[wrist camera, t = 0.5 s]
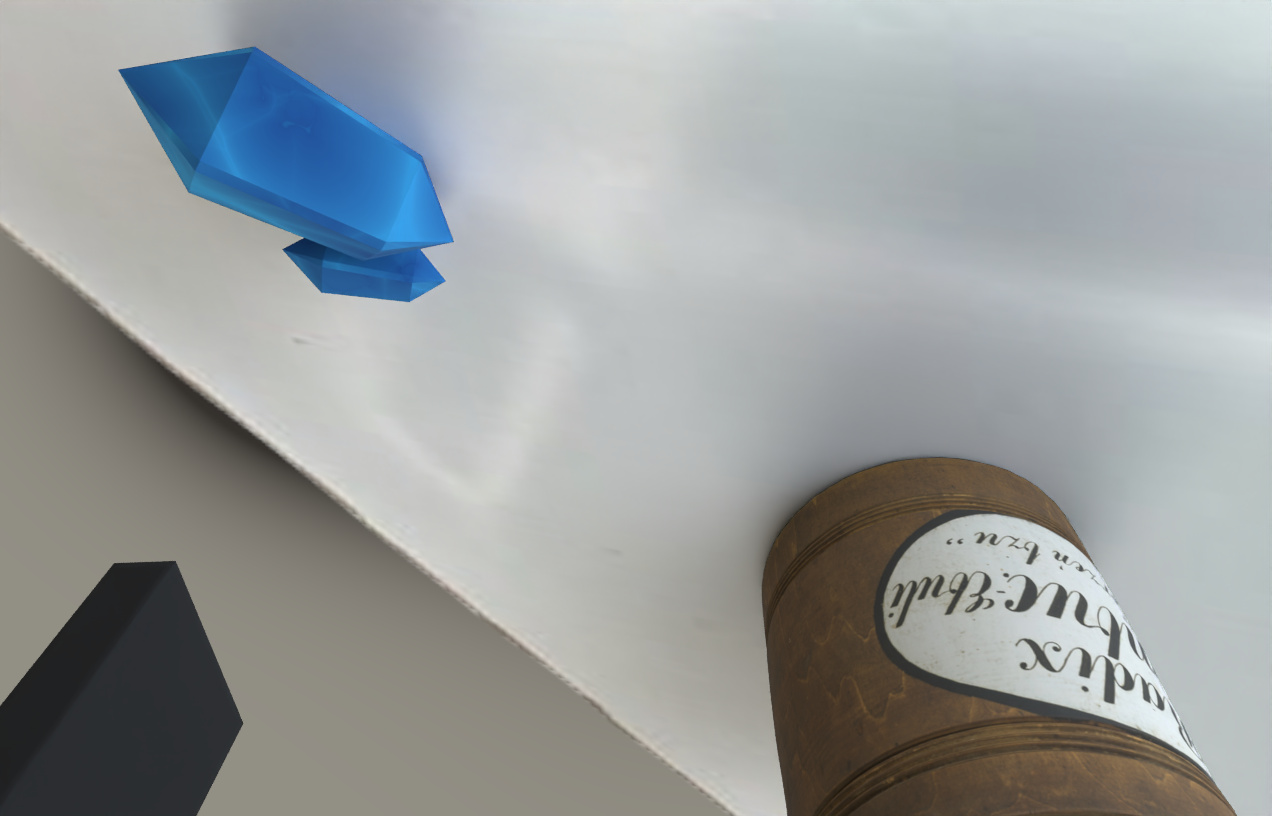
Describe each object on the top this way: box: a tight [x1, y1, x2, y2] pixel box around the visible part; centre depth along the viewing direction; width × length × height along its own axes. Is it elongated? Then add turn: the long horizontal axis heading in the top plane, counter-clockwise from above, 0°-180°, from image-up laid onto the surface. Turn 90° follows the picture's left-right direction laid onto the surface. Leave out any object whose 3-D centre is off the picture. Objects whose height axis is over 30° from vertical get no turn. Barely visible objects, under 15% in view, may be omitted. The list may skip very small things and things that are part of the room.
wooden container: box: [762, 458, 1237, 816], centre depth 36 cm, size 15×15×22 cm
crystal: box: [119, 47, 454, 302], centre depth 33 cm, size 7×9×12 cm
